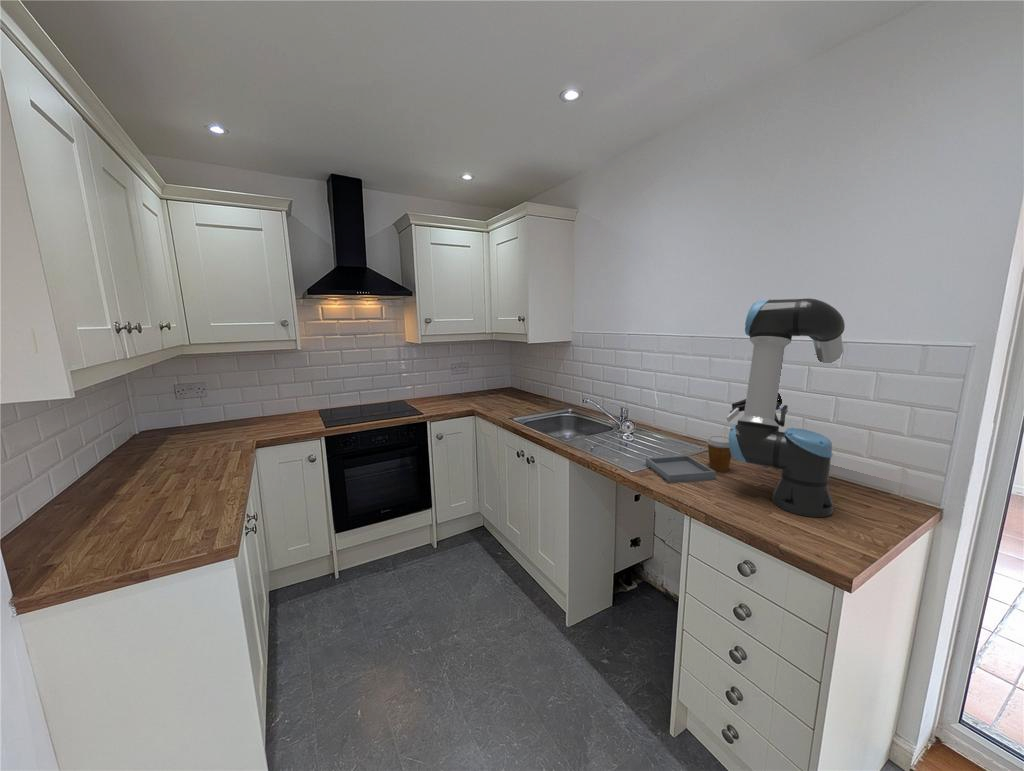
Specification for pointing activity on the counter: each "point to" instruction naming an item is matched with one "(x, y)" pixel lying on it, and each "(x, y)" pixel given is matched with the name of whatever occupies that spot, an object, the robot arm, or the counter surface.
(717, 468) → the disposable coffee cup
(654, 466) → the tray
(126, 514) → the counter surface
